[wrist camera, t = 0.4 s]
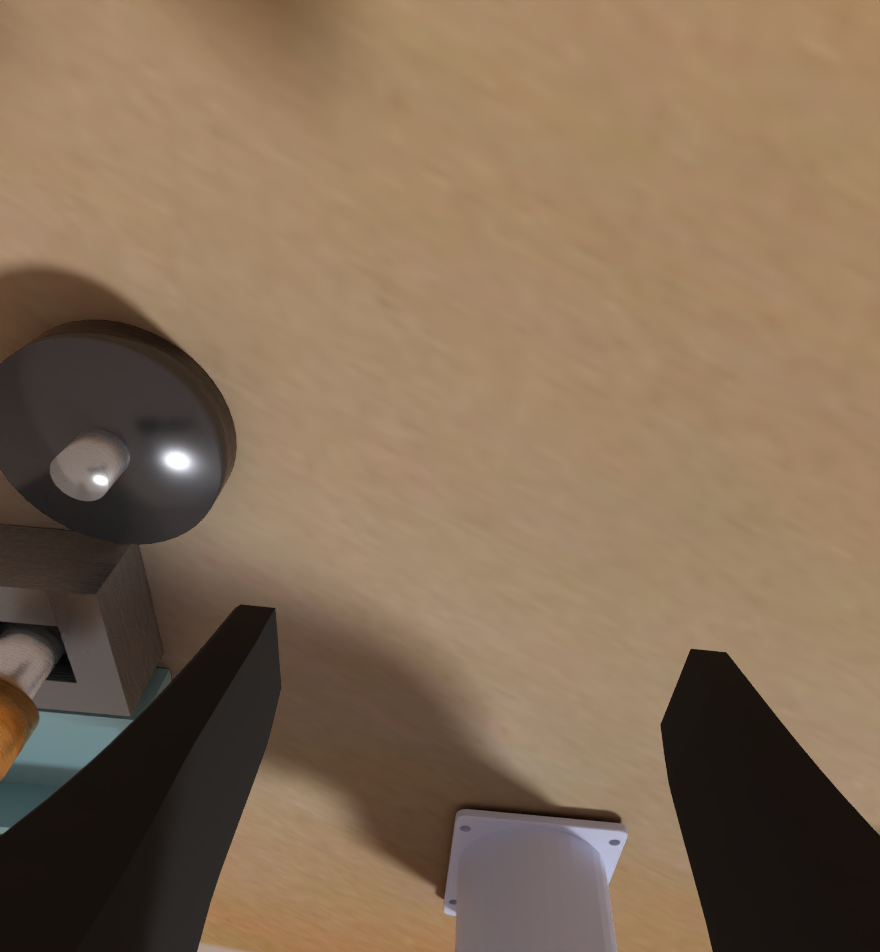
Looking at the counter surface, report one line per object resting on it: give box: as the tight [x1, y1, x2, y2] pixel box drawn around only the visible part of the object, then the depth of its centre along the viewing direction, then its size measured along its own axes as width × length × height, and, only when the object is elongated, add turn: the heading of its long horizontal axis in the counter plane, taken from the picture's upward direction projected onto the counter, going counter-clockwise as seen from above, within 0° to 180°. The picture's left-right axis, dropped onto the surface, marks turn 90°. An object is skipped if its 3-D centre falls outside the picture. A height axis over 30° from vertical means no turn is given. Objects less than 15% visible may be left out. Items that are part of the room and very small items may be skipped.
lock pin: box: [0, 622, 66, 781], centre depth 23 cm, size 3×3×7 cm
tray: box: [0, 668, 172, 834], centre depth 29 cm, size 9×11×2 cm
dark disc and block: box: [0, 320, 237, 716], centre depth 22 cm, size 14×10×3 cm
